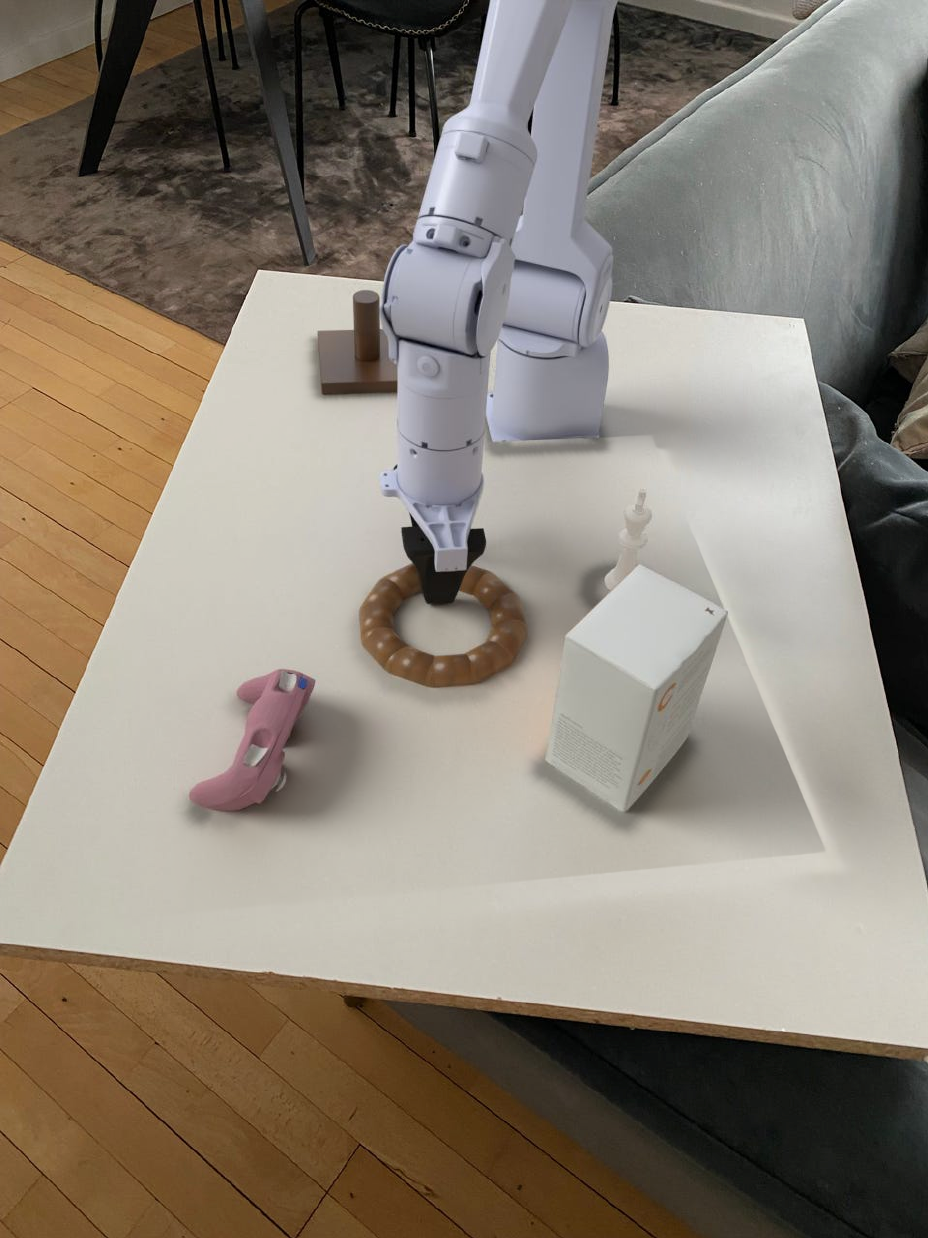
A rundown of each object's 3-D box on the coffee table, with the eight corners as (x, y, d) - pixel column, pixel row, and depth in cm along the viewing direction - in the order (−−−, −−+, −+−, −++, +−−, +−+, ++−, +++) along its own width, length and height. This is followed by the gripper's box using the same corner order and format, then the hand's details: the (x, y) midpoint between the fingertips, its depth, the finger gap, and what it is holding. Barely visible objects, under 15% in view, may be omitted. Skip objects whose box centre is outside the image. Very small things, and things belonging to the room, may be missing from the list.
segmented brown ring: (509, 572, 80) (511, 549, 79) (536, 690, 72) (540, 668, 71) (355, 581, 79) (354, 558, 77) (366, 703, 71) (365, 680, 69)
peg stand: (410, 338, 103) (411, 270, 97) (419, 391, 97) (421, 321, 91) (318, 341, 102) (314, 272, 96) (321, 394, 95) (317, 324, 90)
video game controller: (247, 840, 65) (288, 793, 60) (179, 809, 64) (216, 758, 59) (296, 718, 72) (337, 667, 67) (236, 688, 71) (273, 633, 66)
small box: (607, 697, 72) (639, 559, 63) (687, 745, 70) (732, 609, 60) (539, 770, 68) (562, 634, 58) (621, 825, 65) (660, 691, 56)
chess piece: (658, 580, 81) (684, 478, 73) (645, 623, 77) (670, 521, 70) (596, 564, 82) (616, 461, 74) (580, 606, 78) (599, 503, 71)
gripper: (371, 364, 72) (374, 513, 82) (388, 499, 63) (389, 650, 72) (472, 361, 73) (463, 509, 83) (505, 493, 63) (490, 643, 73)
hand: (435, 574), depth 78 cm, fingers open, 5 cm apart
